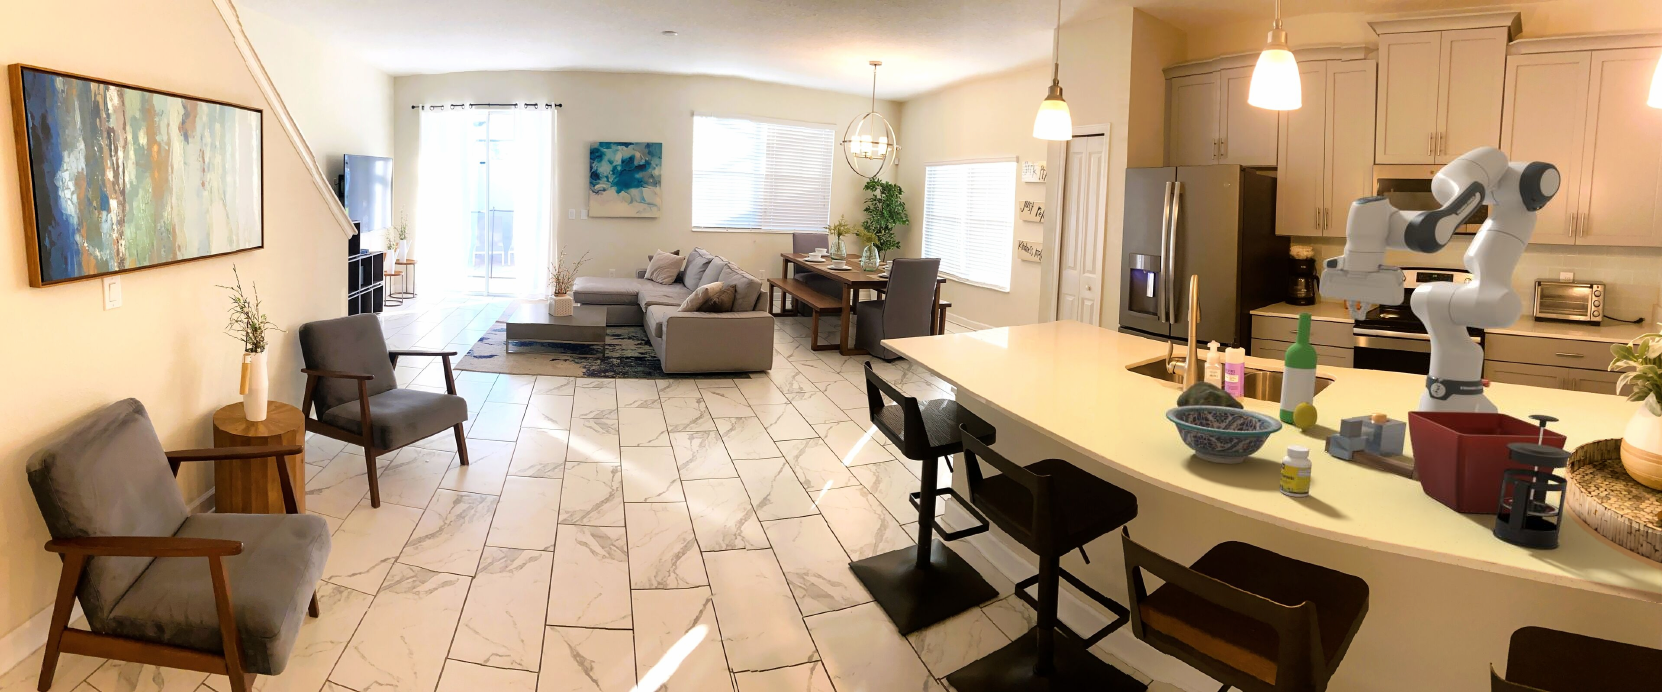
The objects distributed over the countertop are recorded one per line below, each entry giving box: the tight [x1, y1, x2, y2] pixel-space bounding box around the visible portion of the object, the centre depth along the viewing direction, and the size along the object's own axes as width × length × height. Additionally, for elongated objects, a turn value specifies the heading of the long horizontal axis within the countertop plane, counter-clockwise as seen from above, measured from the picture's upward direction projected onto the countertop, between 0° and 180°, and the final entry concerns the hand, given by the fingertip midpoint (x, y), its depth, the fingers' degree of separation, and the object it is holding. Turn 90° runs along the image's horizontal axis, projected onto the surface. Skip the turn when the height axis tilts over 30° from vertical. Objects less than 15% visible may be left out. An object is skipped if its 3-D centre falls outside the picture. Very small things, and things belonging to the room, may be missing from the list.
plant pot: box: [1407, 410, 1568, 515], centre depth 172 cm, size 19×19×17 cm
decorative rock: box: [1176, 380, 1245, 410], centre depth 241 cm, size 15×16×10 cm
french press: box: [1492, 414, 1573, 551], centre depth 153 cm, size 12×9×23 cm
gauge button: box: [1371, 412, 1388, 422], centre depth 207 cm, size 3×3×5 cm
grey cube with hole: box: [1351, 414, 1407, 458], centre depth 207 cm, size 8×8×8 cm
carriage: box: [1328, 417, 1369, 461], centre depth 203 cm, size 6×5×9 cm
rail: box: [1324, 434, 1420, 481], centre depth 198 cm, size 3×23×4 cm, turn 21°
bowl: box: [1165, 406, 1283, 465], centre depth 202 cm, size 25×25×10 cm
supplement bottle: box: [1279, 445, 1313, 498], centre depth 178 cm, size 5×5×10 cm
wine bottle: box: [1279, 312, 1318, 425], centre depth 233 cm, size 8×8×30 cm
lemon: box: [1293, 402, 1318, 432], centre depth 226 cm, size 6×6×8 cm
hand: (1357, 319), depth 212 cm, fingers closed
